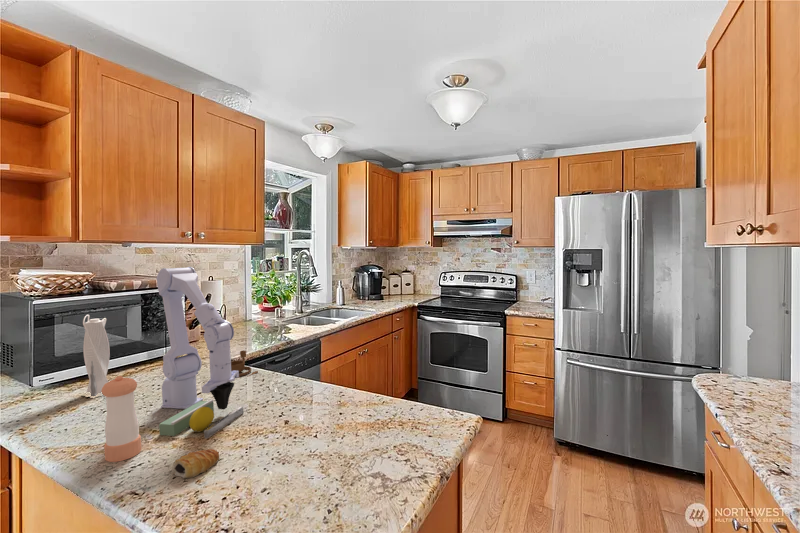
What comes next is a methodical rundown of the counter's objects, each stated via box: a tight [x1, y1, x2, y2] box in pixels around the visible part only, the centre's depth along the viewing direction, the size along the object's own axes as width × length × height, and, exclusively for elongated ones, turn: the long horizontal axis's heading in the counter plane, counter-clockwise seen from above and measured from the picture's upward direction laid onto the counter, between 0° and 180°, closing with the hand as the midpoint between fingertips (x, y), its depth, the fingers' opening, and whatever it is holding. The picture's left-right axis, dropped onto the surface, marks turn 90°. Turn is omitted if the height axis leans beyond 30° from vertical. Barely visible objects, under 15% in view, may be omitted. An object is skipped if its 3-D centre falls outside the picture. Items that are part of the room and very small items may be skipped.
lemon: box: [189, 407, 215, 432], centre depth 107 cm, size 6×6×8 cm
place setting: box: [231, 350, 259, 378], centre depth 161 cm, size 18×20×6 cm
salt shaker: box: [101, 375, 142, 463], centre depth 95 cm, size 7×7×19 cm
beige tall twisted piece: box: [82, 314, 111, 396], centre depth 138 cm, size 8×8×28 cm
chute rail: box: [203, 405, 244, 439], centre depth 110 cm, size 1×16×2 cm, turn 170°
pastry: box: [171, 448, 220, 479], centre depth 88 cm, size 9×7×4 cm
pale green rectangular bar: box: [158, 399, 215, 437], centre depth 112 cm, size 4×16×4 cm, turn 169°
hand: (222, 408), depth 117 cm, fingers closed
